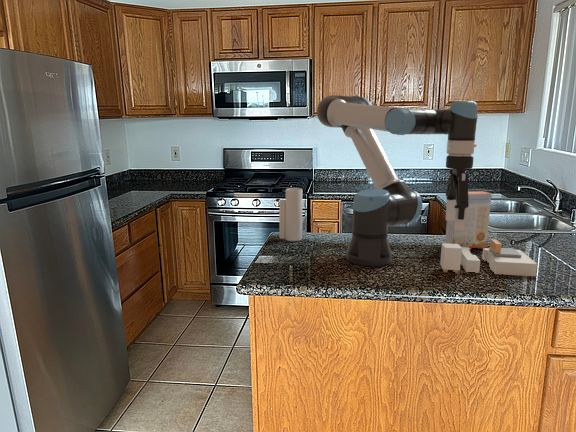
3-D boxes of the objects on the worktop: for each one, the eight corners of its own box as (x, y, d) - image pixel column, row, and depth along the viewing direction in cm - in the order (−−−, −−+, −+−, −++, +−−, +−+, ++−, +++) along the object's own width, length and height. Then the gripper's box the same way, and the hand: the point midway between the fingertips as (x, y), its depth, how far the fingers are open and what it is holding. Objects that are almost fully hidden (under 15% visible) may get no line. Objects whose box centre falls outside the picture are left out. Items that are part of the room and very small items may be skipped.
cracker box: (477, 244, 167) (482, 190, 162) (486, 248, 161) (492, 193, 156) (443, 245, 164) (448, 191, 160) (452, 250, 158) (457, 193, 154)
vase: (305, 239, 172) (306, 189, 168) (291, 242, 168) (291, 191, 163) (287, 233, 181) (287, 186, 176) (273, 236, 176) (273, 187, 172)
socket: (466, 272, 135) (467, 260, 134) (456, 257, 150) (457, 246, 149) (535, 276, 132) (537, 263, 131) (518, 261, 146) (519, 249, 145)
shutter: (495, 256, 138) (496, 244, 137) (488, 249, 145) (490, 238, 145) (521, 257, 137) (522, 245, 136) (513, 250, 144) (514, 239, 143)
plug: (442, 273, 134) (444, 247, 133) (439, 267, 139) (441, 243, 137) (459, 274, 134) (462, 248, 132) (456, 268, 138) (458, 244, 137)
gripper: (484, 158, 116) (477, 235, 120) (463, 152, 140) (458, 216, 144) (455, 157, 117) (449, 234, 122) (439, 152, 141) (434, 216, 146)
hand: (454, 224), depth 133 cm, fingers open, 13 cm apart
